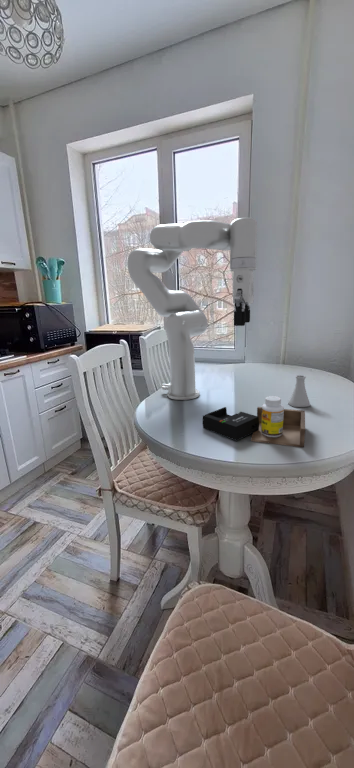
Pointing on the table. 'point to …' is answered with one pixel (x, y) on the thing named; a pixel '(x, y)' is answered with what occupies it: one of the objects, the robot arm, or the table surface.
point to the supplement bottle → (272, 417)
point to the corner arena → (285, 429)
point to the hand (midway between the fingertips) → (242, 323)
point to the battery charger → (231, 423)
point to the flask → (299, 393)
